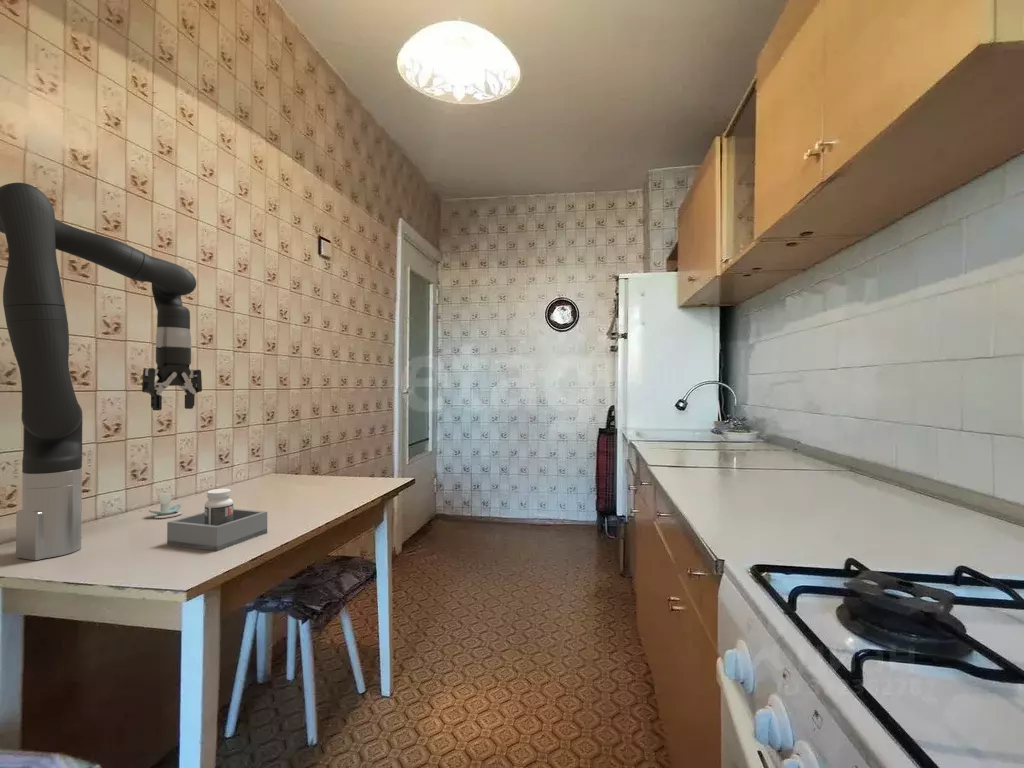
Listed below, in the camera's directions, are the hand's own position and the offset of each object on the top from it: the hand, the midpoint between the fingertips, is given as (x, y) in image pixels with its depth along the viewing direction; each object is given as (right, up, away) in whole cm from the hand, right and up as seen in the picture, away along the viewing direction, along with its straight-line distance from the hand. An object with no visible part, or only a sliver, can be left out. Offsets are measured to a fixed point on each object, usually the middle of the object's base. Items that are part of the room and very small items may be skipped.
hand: (173, 409), depth 128 cm
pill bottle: (+20, -28, -13) cm, 37 cm away
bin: (+20, -29, -13) cm, 37 cm away
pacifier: (-6, -29, +7) cm, 31 cm away
